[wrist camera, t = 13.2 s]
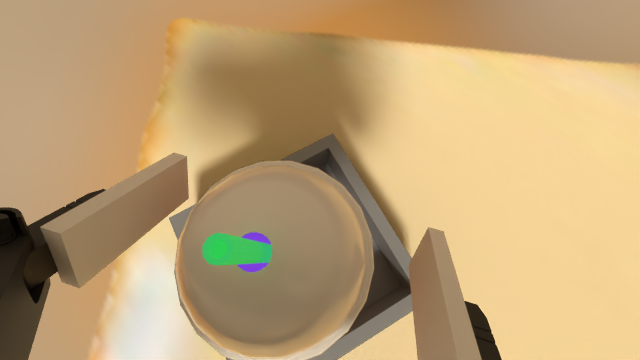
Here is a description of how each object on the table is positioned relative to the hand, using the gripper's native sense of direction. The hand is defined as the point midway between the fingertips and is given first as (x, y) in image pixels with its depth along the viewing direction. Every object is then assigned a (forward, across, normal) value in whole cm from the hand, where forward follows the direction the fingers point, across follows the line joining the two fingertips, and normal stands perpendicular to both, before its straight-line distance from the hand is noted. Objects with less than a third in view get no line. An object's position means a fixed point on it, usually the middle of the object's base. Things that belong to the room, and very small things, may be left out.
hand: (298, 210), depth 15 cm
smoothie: (+6, 0, -10) cm, 12 cm away
